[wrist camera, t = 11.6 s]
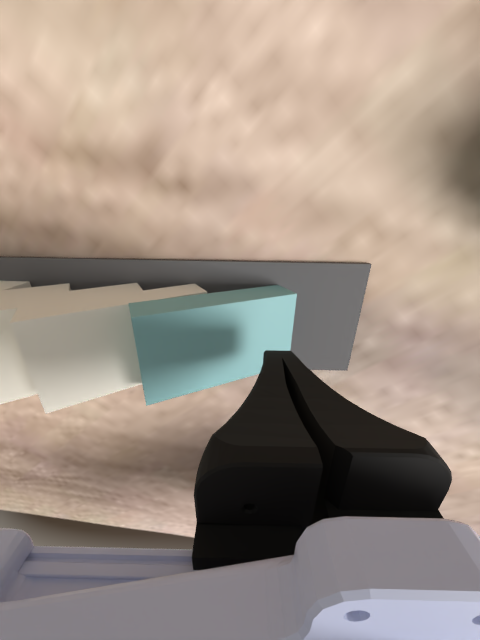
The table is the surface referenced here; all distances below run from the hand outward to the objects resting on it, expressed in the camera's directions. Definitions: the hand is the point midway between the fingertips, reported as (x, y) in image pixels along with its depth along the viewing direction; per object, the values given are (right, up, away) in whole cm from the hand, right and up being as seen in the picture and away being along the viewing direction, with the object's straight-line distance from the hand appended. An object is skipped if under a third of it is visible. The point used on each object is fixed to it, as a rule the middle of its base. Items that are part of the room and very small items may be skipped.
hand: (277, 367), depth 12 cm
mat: (-6, +3, +5) cm, 8 cm away
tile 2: (-4, +2, +4) cm, 6 cm away
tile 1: (+1, +2, +4) cm, 5 cm away
